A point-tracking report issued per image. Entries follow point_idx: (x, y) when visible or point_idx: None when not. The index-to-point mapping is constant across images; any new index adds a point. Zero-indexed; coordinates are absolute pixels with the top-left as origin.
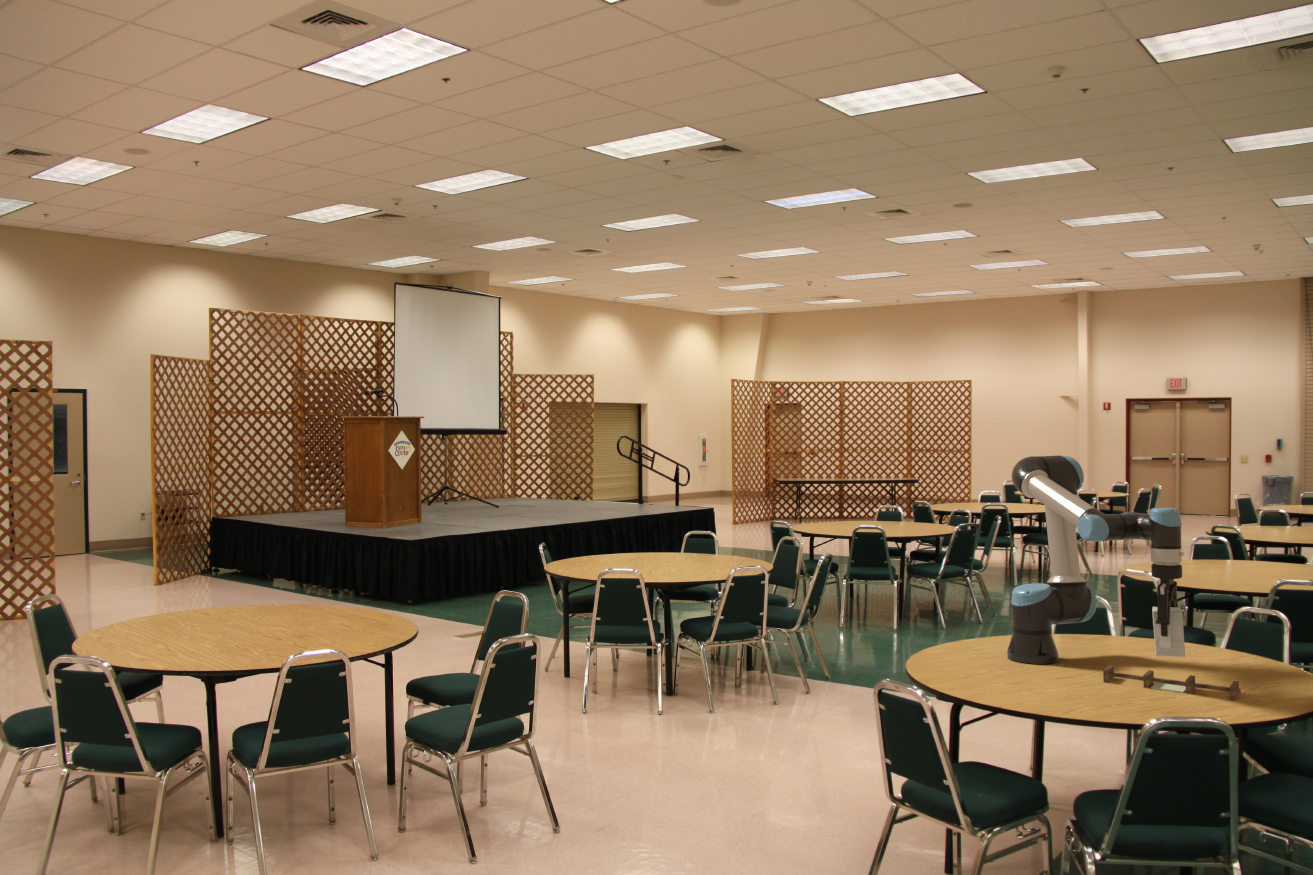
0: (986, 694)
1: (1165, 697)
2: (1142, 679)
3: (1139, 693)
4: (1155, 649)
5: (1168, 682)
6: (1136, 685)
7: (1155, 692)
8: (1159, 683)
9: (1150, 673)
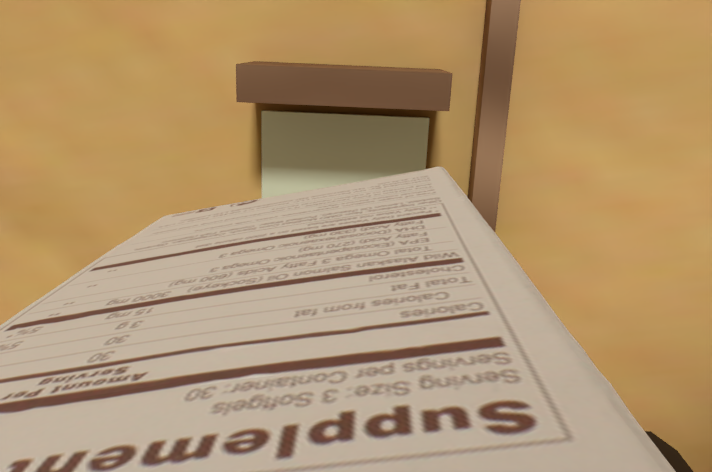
0: None
1: (71, 227)
2: (487, 13)
3: (65, 66)
4: (147, 227)
5: (468, 193)
6: (289, 4)
7: (162, 154)
8: (407, 144)
9: (331, 105)
